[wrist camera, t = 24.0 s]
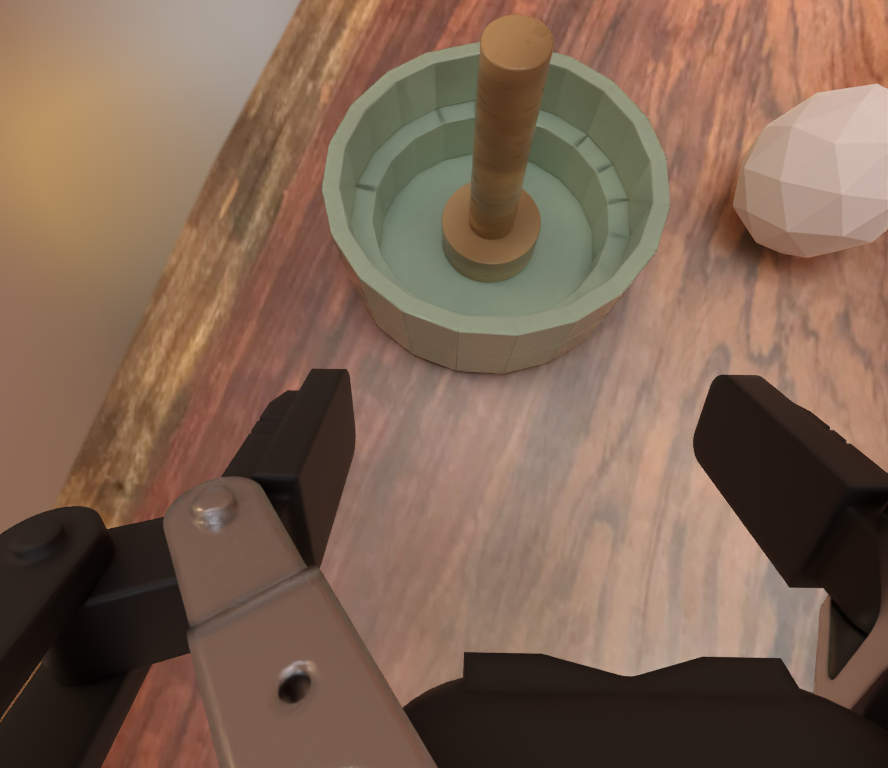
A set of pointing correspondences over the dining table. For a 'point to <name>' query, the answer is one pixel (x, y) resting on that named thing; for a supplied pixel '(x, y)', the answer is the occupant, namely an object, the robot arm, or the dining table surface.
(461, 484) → the dining table surface
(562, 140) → the bowl
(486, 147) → the wooden peg on base
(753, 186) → the geometric ball
